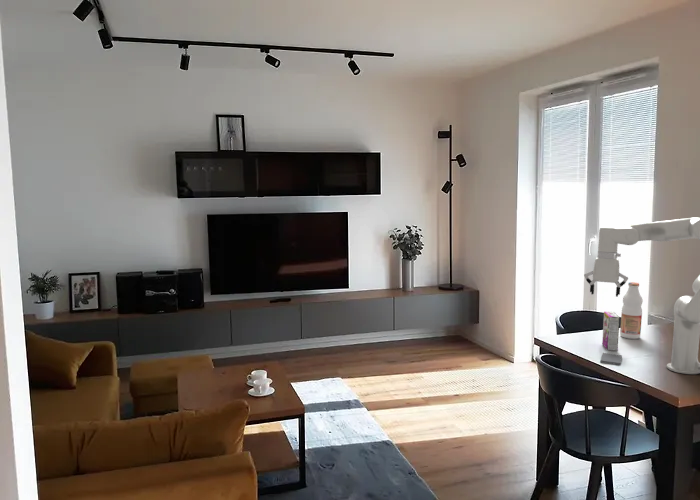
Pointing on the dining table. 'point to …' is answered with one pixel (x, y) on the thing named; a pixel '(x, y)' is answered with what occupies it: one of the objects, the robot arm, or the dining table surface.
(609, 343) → the candy bar box
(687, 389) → the dining table surface
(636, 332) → the fruit juice
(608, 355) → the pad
